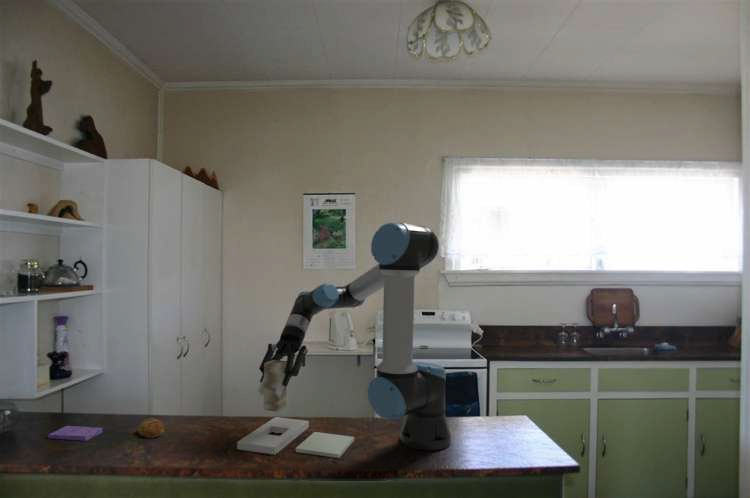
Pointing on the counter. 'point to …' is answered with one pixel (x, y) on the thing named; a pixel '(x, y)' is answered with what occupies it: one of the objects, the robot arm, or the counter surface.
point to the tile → (325, 444)
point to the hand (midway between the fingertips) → (269, 394)
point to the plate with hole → (273, 443)
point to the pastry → (151, 428)
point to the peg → (274, 385)
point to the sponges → (75, 433)
